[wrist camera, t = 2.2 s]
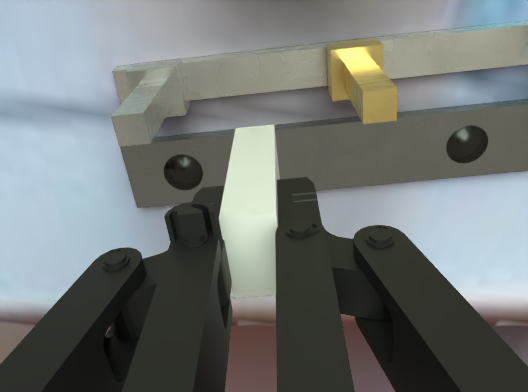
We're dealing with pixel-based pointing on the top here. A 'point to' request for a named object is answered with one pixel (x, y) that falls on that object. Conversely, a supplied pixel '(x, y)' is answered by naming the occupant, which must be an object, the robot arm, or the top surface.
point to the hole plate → (344, 151)
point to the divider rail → (297, 71)
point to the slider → (362, 79)
